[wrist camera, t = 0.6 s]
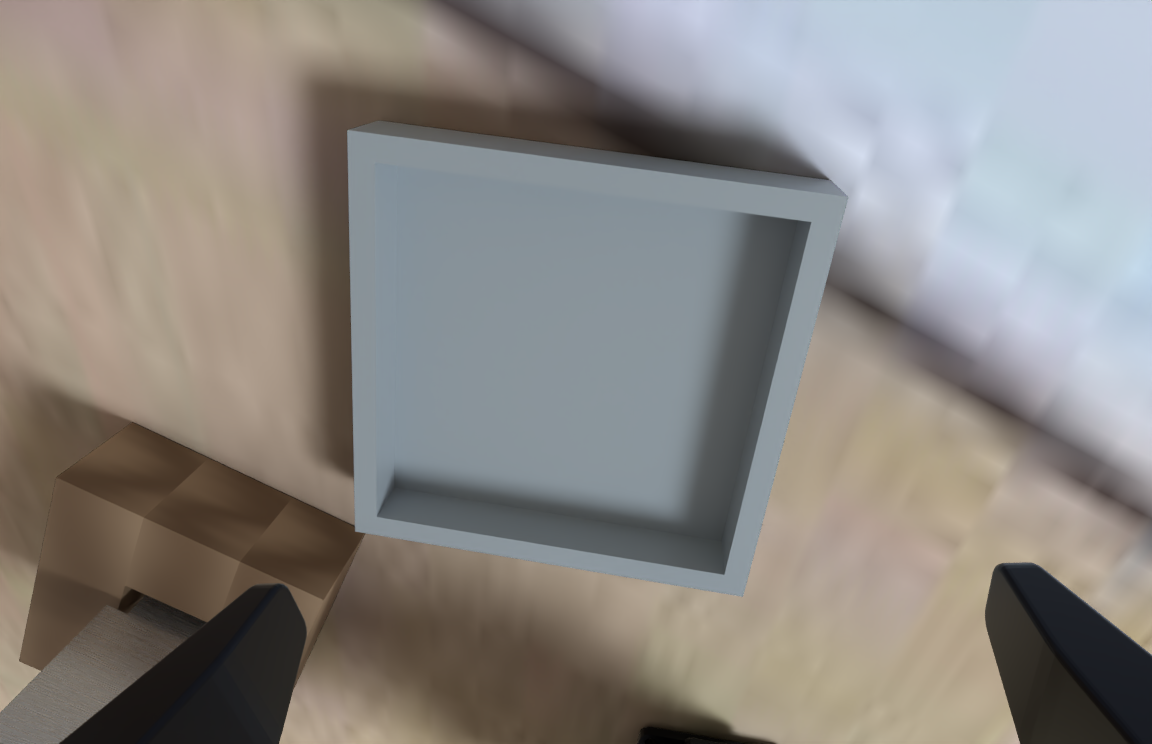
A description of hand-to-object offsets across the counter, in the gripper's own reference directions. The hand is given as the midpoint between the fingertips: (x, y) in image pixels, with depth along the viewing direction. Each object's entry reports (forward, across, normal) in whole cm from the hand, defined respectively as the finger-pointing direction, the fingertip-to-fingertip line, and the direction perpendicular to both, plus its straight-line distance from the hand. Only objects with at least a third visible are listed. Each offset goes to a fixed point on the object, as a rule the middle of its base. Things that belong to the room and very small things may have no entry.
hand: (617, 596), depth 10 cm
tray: (+15, +3, +6) cm, 17 cm away
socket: (+14, +19, +14) cm, 28 cm away
